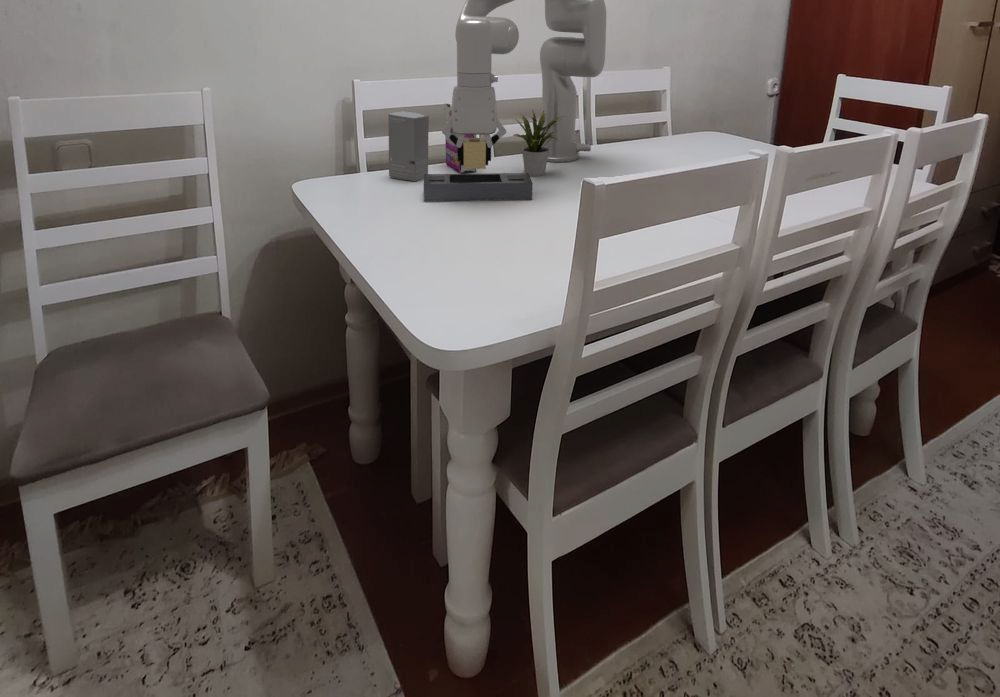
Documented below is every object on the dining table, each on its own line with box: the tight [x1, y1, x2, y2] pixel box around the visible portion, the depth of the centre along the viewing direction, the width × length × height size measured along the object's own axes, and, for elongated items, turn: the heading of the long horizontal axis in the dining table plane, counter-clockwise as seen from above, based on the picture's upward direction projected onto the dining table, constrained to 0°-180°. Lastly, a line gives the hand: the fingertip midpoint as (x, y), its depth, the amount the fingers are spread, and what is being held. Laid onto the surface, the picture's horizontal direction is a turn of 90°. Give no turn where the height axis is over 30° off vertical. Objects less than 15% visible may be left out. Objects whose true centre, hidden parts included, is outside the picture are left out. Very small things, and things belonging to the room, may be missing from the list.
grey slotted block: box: [423, 172, 533, 202], centre depth 167 cm, size 25×9×4 cm, turn 94°
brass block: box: [463, 137, 487, 170], centre depth 163 cm, size 5×5×6 cm
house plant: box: [512, 108, 564, 177], centre depth 182 cm, size 14×14×16 cm
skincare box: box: [388, 110, 430, 182], centre depth 179 cm, size 8×7×16 cm
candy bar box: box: [444, 101, 477, 174], centre depth 187 cm, size 11×5×16 cm, turn 25°
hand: (474, 163), depth 164 cm, fingers closed on brass block, 5 cm apart
